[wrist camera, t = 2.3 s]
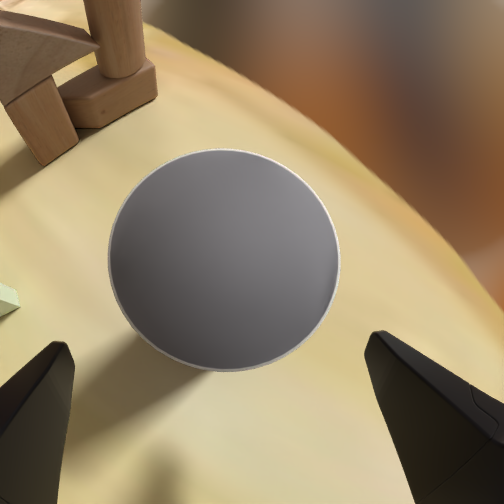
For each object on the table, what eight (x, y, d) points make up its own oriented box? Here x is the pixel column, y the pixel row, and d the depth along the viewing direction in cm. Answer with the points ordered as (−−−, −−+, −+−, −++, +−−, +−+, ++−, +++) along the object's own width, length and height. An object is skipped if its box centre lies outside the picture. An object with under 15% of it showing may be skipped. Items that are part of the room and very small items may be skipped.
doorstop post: (263, 337, 18) (378, 297, 6) (194, 373, 17) (171, 414, 5) (227, 270, 19) (270, 125, 7) (159, 303, 18) (80, 199, 6)
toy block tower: (31, 142, 20) (-55, -39, 3) (139, 77, 23) (126, -115, 6) (43, 170, 20) (-61, -32, 3) (160, 98, 23) (153, -118, 6)
